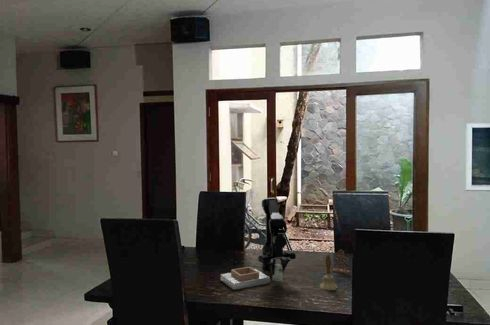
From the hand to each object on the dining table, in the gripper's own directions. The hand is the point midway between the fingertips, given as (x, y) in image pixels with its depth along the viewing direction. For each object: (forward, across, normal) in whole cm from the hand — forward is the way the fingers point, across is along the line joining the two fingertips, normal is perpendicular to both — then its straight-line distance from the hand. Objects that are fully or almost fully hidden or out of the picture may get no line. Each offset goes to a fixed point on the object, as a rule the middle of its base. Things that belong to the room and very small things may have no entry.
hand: (277, 274), depth 201 cm
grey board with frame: (+5, +12, -12) cm, 18 cm away
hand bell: (+6, -20, +15) cm, 26 cm away
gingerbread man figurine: (+6, -41, -1) cm, 41 cm away
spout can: (+3, 0, 0) cm, 3 cm away
